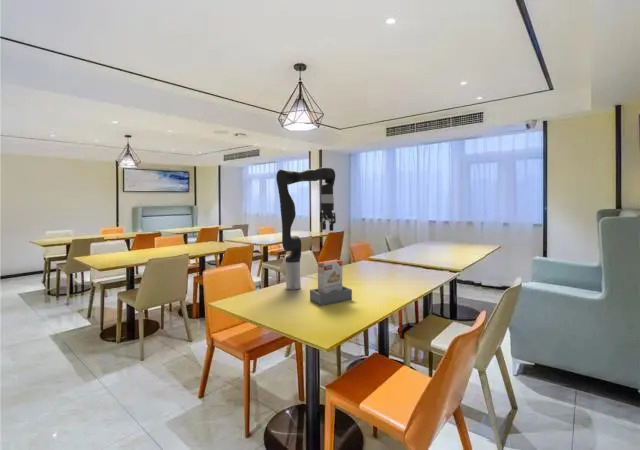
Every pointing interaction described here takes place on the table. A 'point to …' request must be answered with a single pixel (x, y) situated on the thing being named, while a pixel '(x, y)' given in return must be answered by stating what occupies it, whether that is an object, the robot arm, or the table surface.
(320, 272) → the cracker box
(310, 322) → the table surface
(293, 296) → the table surface
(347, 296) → the bin
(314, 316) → the table surface
